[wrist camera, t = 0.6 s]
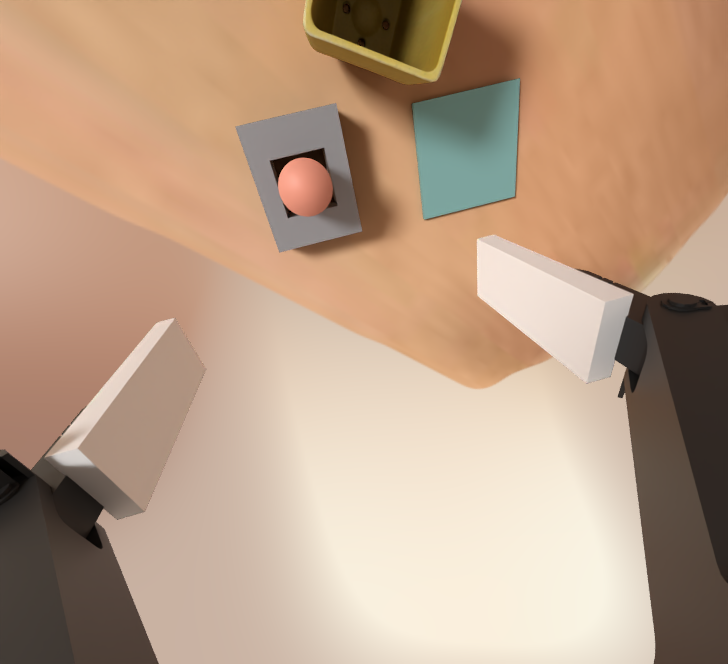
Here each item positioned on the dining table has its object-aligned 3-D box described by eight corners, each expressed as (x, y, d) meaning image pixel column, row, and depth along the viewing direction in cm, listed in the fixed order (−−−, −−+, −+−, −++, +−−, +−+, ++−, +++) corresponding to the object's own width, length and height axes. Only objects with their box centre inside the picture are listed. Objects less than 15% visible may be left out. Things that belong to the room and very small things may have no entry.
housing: (241, 129, 27) (235, 126, 24) (332, 108, 27) (336, 103, 24) (281, 244, 32) (279, 252, 29) (357, 225, 32) (362, 231, 29)
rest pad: (411, 104, 28) (413, 103, 27) (517, 79, 28) (520, 78, 28) (423, 218, 33) (424, 219, 33) (512, 196, 33) (514, 196, 33)
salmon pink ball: (274, 163, 26) (270, 164, 22) (321, 152, 26) (324, 151, 22) (289, 214, 28) (288, 222, 24) (333, 203, 28) (338, 209, 24)
